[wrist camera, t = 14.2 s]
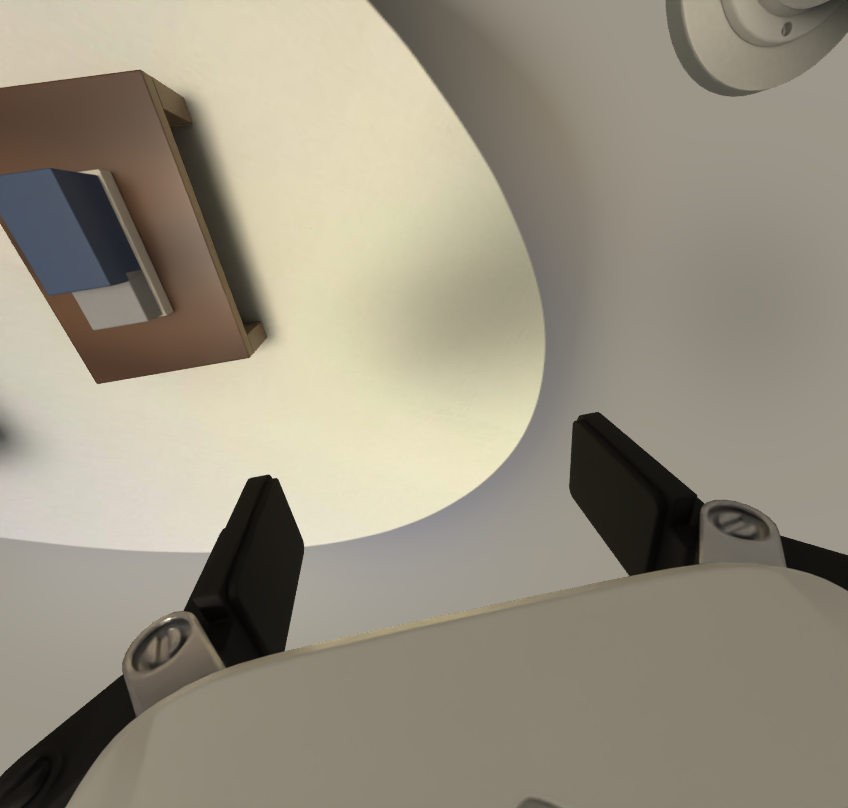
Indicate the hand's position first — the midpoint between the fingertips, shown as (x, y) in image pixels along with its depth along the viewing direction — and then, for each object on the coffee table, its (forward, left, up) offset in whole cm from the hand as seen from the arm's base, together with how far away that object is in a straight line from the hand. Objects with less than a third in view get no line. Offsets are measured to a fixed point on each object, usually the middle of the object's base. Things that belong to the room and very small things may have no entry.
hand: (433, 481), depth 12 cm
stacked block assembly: (-8, -18, -21) cm, 29 cm away
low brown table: (-8, -18, -26) cm, 33 cm away
